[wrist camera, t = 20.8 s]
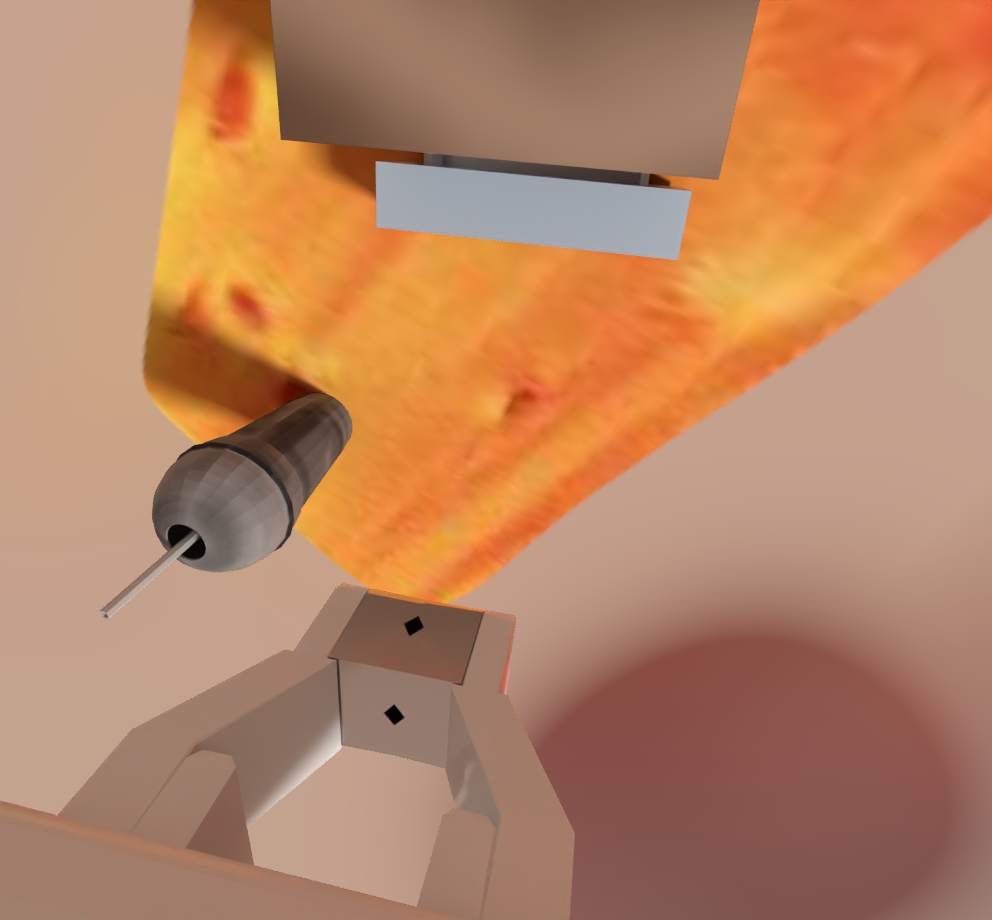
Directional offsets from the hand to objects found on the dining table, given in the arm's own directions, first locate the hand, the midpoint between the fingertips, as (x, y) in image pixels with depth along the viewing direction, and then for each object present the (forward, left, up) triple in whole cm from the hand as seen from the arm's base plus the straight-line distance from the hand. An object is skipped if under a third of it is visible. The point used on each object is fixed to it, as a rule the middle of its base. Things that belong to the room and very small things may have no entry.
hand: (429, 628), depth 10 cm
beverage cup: (+11, -16, -29) cm, 35 cm away
